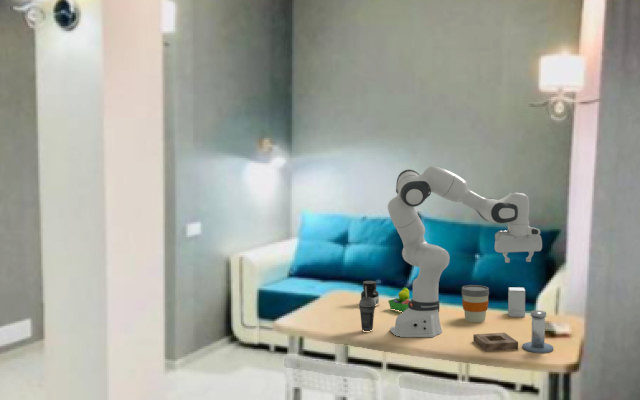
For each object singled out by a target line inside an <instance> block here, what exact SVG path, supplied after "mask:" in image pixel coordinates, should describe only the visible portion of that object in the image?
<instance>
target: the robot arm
mask: <svg viewBox="0 0 640 400" xmlns="http://www.w3.org/2000/svg"><path fill="white" fill-rule="evenodd" d="M395 186H396V187H395V193H396V194H397V195H396V196H395V197H393V198H392V199H390V200H389V202H388V204H387V211H388V214H389V217H390V219H391V222H392V224H393V226H394V228H395V229H396V230H397V231H396V232H397V233H398V234H399V237H400V239H401V241H402V244H403V248H402V250H401V256H402V258H403V260H404V261H405V262H406V263H407V264H409V265H410V266H413V267H417V268H419V270H418V271H419V272H418V275H417V277H416V278H415V279H414V280H412V281H413V282H412V299H411V300H410V298H409V299H406V300H405V303H406V304H408V309H406V310H405V311H404V312H403V313H400V314H398V315H397V317H396V319H395V324H394V326H390V328H389V331H390V330H391V332H392V333H393V334H394V335H393V334H392V333H391V332H390V333H391V334H392V335H393V336H395V335H396V336H395V337H397V336H400V337H399V338H433V337H435V336H438V335H440V334H442V331H443V330H442V327H441V323H440V314H439V313H440V307H441V306H440V299H439V282H440V279H441V276H442V273H443V271H444V270H445V269H447V267H448V266H449V264H450V257H451V256H450V254H449V252H448V250H447V249H445V248H443V247H441V246H439V245H436V244H432V243H428V242H427V241H426V239H425V236H424V235H425V234H426V228H425V225H424V223H423V222H422V219H421V218H420V216H419V214H418V212H417V210H416V208H415V207H419V206H421V205H422V204H423V203H424V202H425V201H426V199H428V198H429V196H430V195H431V194H432V193H433V194H436V195H438V196H439V197H441V198H443V199H444V200H448V201H451V202H455V203H462V204H464V205H466V206H467V207H469V208H471V209H473V210H474V211H476V213H477V214H478V215H479V216H480V217H481V218H482V219H483V220H484V221H486V222H492V223H496V224H499V225H500V224H506V223H507V230H498V231H497V232H495V234H494V240H495V241H494V250H495V252H497V253H501V254H502V255H503V257H504V262H505V263H507V264H509V263H511V261H510V260H511V258H509V257H508V254H509V253H525V252H528V256H527V257H525V262H527V263H528V262H529V263H531V262H532V257H533V256H534V253H535V252H541V251H542V249H543V240H542V236H541V230H540V228H537V227H534V226H530V221H529V220H530V219H529V216H530V201H529V200H530V199H529V196H528V195H527V194H525V193H522V192H515V191H511V192H510V193H508V195H506V196H504V197H503V198H500V199H496V198H492V197H484V196H481V195H479V194H478V193H476V192H474V191H472V190H470V189H469V188H468V183H467V181H466V180H465V179H463V178H462V177H461V176H459V175H457V174H456V173H454V172H452V171H450V170H448V169H446V168H443V167H439V166H436V165H431V166H428V167H427V168H425V170H424V172H423V173H422V174H419V173H418V172H417V171H415V170H413V169H405V170H402V171H401V172H400V173H399V174H398V176H397V178H396V185H395Z"/></svg>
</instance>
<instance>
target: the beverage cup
mask: <svg viewBox="0 0 640 400" xmlns="http://www.w3.org/2000/svg"><path fill="white" fill-rule="evenodd" d="M365 293H366V297H363V298H362V299H361V298H360V300H359V304H358V307H359V313H360V323H361V331H362V330H364V331H370V330H372V329H373V328H374V318H375V317H374V316H375V310H376V309H375V308H376V307H375V302H374V300H373V299H372V298H371V297H368V296H367V291H366V286H365ZM372 331H373V330H372Z"/></svg>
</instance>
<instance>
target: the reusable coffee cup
mask: <svg viewBox="0 0 640 400" xmlns="http://www.w3.org/2000/svg"><path fill="white" fill-rule="evenodd" d="M489 289H490V288H489V287H487V286H485V285H479V284H468V285H463V286H462V287H461V296H462V299H461V301H462V302H461V303H462V309H463V312H464V320H465V321H467V322H469V323H482V322H485V321H486V314H487V311H488V308H489V295H490V290H489Z"/></svg>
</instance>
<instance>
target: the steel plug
mask: <svg viewBox="0 0 640 400" xmlns="http://www.w3.org/2000/svg"><path fill="white" fill-rule="evenodd" d="M530 317H531V341H530V342H531V346H532V347H534V348H544V343H545V339H546V337H545V334H546V333H545V330H546V328H545V327H546V325H545V324H546V323H545V322H546V318H547V312H546V311H545V310H538V309H537V310H531V311H530Z"/></svg>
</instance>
